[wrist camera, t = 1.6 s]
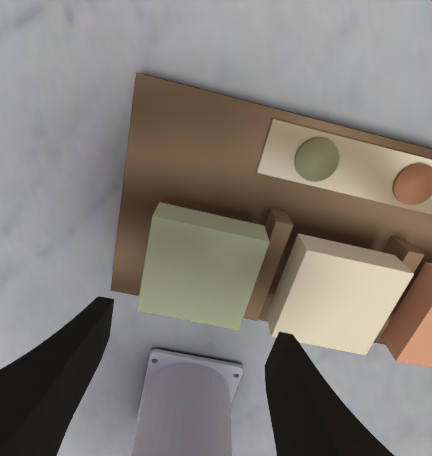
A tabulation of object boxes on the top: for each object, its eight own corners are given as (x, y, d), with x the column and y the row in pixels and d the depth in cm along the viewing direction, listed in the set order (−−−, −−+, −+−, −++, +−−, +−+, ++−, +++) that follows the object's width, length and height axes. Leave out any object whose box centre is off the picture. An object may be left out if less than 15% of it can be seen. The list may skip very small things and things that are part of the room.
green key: (236, 308, 20) (238, 330, 18) (144, 289, 19) (136, 310, 18) (264, 225, 18) (269, 242, 16) (159, 202, 17) (152, 215, 15)
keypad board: (446, 344, 25) (479, 381, 22) (117, 278, 23) (100, 308, 20) (564, 183, 20) (631, 202, 17) (142, 73, 17) (125, 71, 14)
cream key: (352, 331, 21) (365, 355, 19) (266, 314, 20) (271, 336, 18) (394, 255, 18) (414, 273, 16) (297, 233, 18) (307, 250, 16)
